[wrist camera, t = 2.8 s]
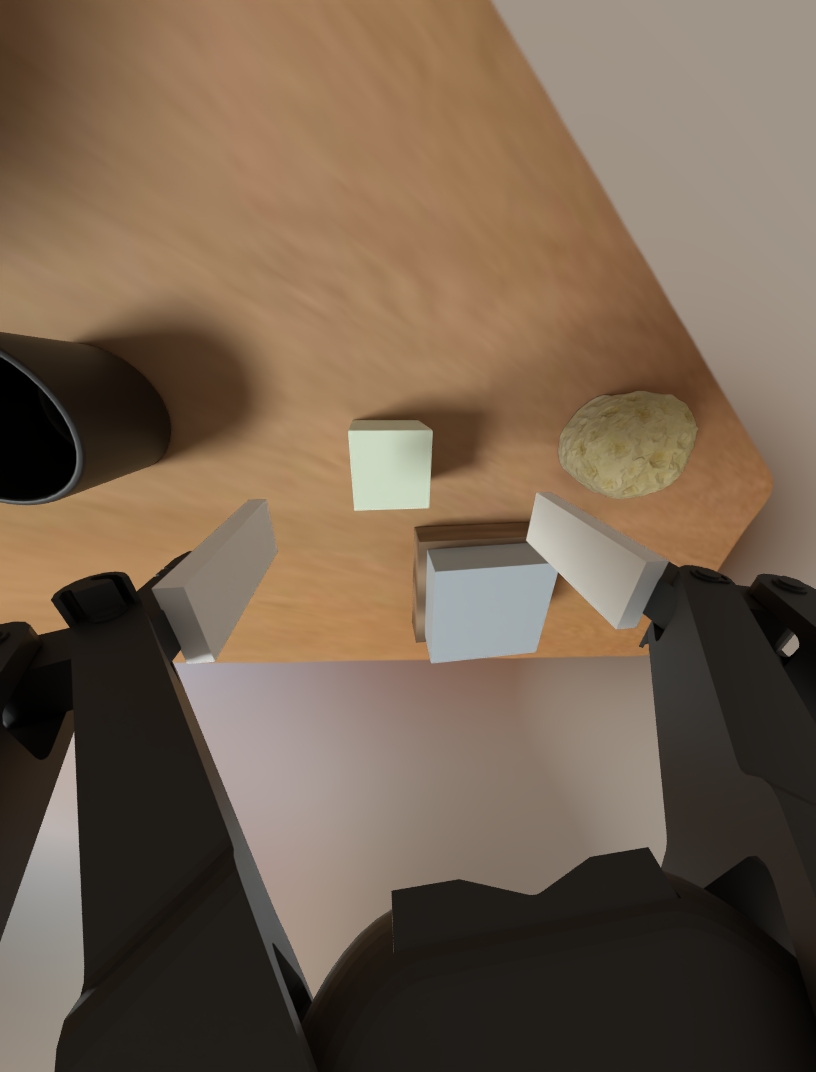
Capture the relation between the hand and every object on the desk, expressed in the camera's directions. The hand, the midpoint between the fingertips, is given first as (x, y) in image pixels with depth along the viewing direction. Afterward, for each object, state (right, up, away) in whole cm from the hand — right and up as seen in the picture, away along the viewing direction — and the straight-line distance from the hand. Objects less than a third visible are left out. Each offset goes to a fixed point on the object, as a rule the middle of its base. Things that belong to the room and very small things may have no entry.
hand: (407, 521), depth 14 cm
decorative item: (+20, +9, +16) cm, 27 cm away
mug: (-26, +10, +9) cm, 29 cm away
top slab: (+8, -7, +19) cm, 21 cm away
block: (-2, +7, +14) cm, 16 cm away
